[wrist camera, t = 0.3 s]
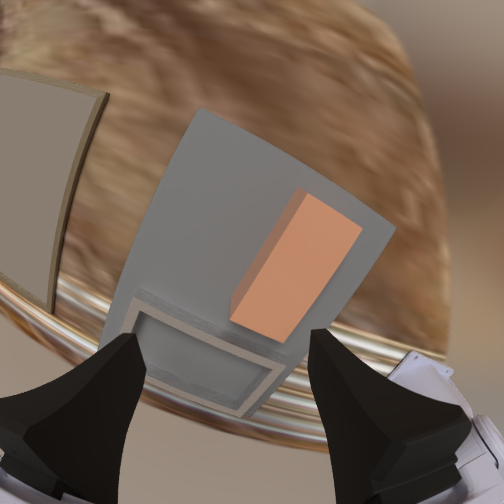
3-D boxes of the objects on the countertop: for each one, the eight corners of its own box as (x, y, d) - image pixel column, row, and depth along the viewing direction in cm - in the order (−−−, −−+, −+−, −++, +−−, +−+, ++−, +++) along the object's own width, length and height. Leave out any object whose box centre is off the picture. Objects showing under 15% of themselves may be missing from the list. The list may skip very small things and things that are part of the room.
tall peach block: (346, 217, 19) (362, 228, 16) (278, 319, 21) (283, 343, 18) (297, 186, 18) (307, 192, 15) (231, 297, 20) (229, 319, 18)
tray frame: (284, 354, 22) (286, 366, 21) (240, 406, 24) (240, 417, 23) (139, 287, 20) (133, 296, 19) (115, 352, 22) (109, 363, 21)
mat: (394, 226, 19) (396, 227, 19) (249, 415, 25) (249, 417, 25) (200, 107, 16) (199, 107, 16) (98, 350, 22) (96, 352, 22)
